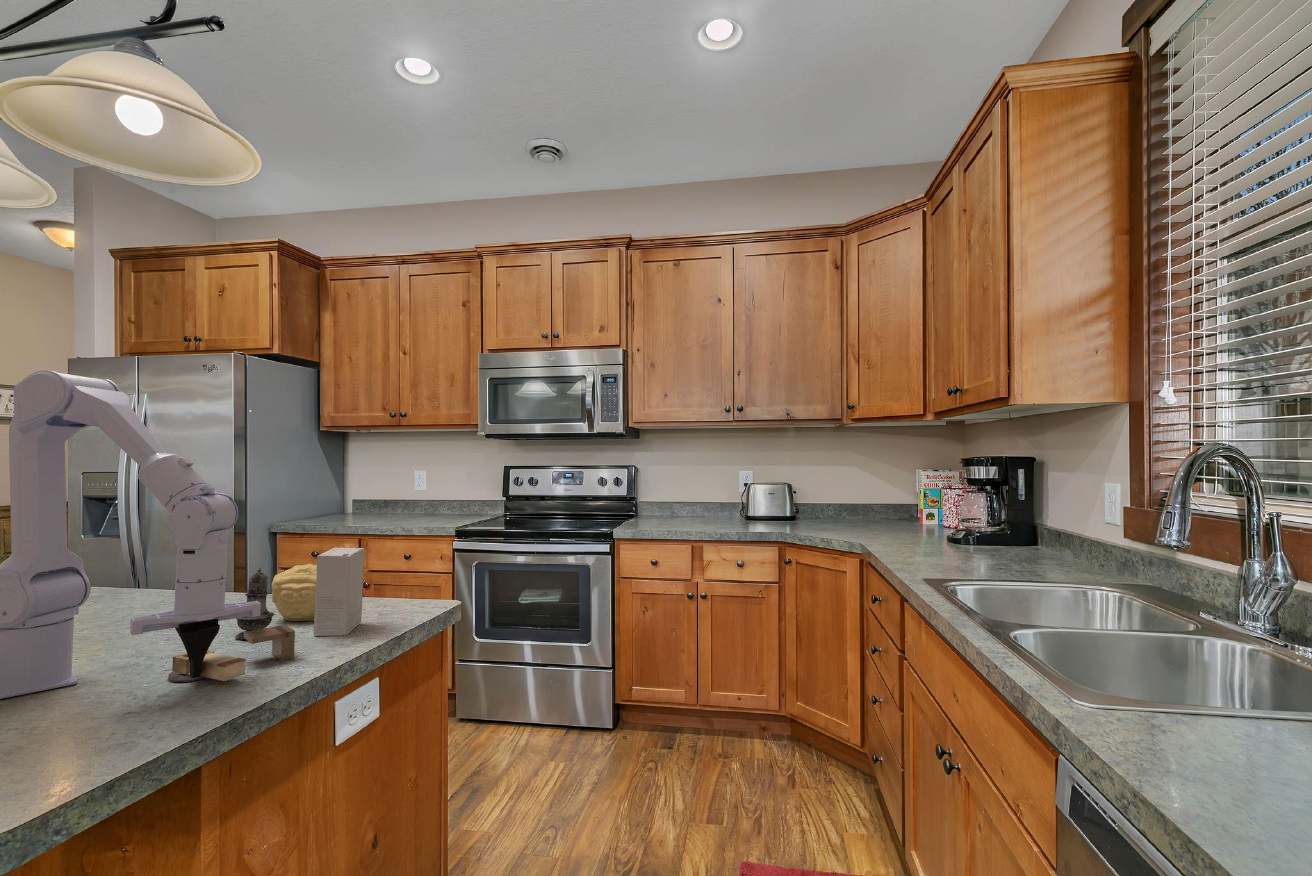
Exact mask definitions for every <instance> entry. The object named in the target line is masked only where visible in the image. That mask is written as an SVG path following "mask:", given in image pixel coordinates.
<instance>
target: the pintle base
mask: <svg viewBox="0 0 1312 876" xmlns="http://www.w3.org/2000/svg"><path fill="white" fill-rule="evenodd" d="M167 677H168V678H167V680H168V682H170V683H175V684H177V683H180V684H181V683H191V682H197V681H203V680H206V679H209V678H208V677H204V676H200V677H197V678H192V677H191V676H190V673H188V674H182V673H178V672H173V671H171V672H170V673H169V674H168V676H167Z"/></svg>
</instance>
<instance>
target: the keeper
mask: <svg viewBox="0 0 1312 876" xmlns="http://www.w3.org/2000/svg"><path fill="white" fill-rule="evenodd" d="M243 632H244V631H243ZM295 637H296V631H295V630H294V629H293V628H291V627H290V626H288V625H287V624H283V625H277V626H271V627H266V628H263V629H258V630H253V631H247V632H244V638H245V639H244V640H246V641H247V642H249V643H250V644H251V645H255V644H260V643H264V642H265V643H266V642H268V641H270V642H271V655H273V657H275V658H276V659H278V660H279V661H280V660H281V661H280V662H283V661H282V660H285V661H289V660H292V659H291V658H294V659H295V644H296V643H295V639H296V638H295ZM288 659H289V660H288Z"/></svg>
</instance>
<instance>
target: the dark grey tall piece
mask: <svg viewBox="0 0 1312 876" xmlns="http://www.w3.org/2000/svg"><path fill="white" fill-rule="evenodd" d="M256 571H257V572H255V573H253V574H252V575H250V576H249V579H248V587H247V588H248V589H247V593H245V596H246V602H252V601H258V602H260V603H261V610H260V616H255V617H251V616H248V617H242V618H235V619H236V623H237V624H236V625H237V626H238V627H239V628H240V630H243V631H241V632H239V633H237V634H236V635H235V636H234V638H235V639H238V640H246V639H245V638H244V632H247V631H253V630H258V629H264V628H268V626H269V625H270V624H271V622H272V620H273V617H274V616H275V612H272V611H269V610H268V608H267V597H268V595H269V594H270V593H269V592H268V591H267V590H268V579H269V577H268V575H267V574H265V573H263V572H261V571H262V568H260V567H259V568H258V569H257V570H256Z"/></svg>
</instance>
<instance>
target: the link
mask: <svg viewBox="0 0 1312 876" xmlns="http://www.w3.org/2000/svg"><path fill="white" fill-rule="evenodd" d="M246 660H247V659H246V658H243V657H234V656H229V655H223V654H219V653H215V651H214V650H213V651H212V650H209V649H208V651H207V653H206V655H205V658H204V660H203V663H202V666H201V676H204V677H208V678H207V679H213V680H217V681H222V682H226V681H229V680H233V679H236V678H238V677H240V676H245V675H246V673H245V672H246ZM171 670H172V671H171V672H178V673H182V674H188V673H190V661H189V658H188V655H187V652H185V653H181V654H178V655H173V656H172V669H171Z"/></svg>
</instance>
